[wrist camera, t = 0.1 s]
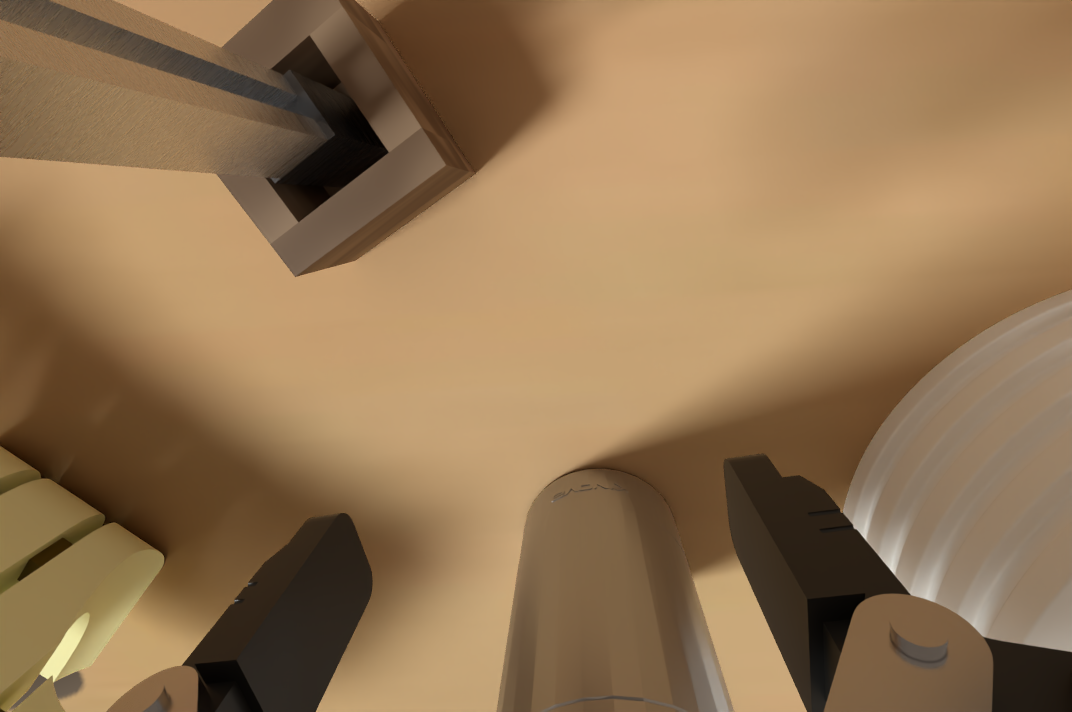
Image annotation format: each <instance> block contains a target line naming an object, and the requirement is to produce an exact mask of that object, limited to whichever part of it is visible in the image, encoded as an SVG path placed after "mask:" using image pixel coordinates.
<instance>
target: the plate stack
mask: <svg viewBox="0 0 1072 712" xmlns="http://www.w3.org/2000/svg"><path fill="white" fill-rule="evenodd" d="M843 513H844V515H845V516H846V517H847V518H848V519H849V521H850V522H851V523H852V524H853V527H854V529H857V530H858V531H859V533H860V534H861V535H862V536H863V537H864V539H865V540H866V541H867V542H868V544H869V545H870V546H871V547H872V548H873V550H874V551H875V552H876V553H877V554H878V556H879V557H880V558H881V559H882V560H883V562H884V563H885V564H886V565H887V567H888V568H889V569H890V570H891V571H892V573H893V574H894V575H895V576H896V577H897V579H898V580H899V581H900V582H901V583H902V585H903V586H904V587H905V588H906V590H907V591H908V592H909V593H910V594H911V595H912V596H916V597H920V598H923V599H926V600H929V601H932V602H935V603H937V604H939V605H941V606H944V607H946V608H948V609H949V610H951V611H953V612H955V613H956V614H958V615H959V616H961V617H962V618H963V619H965V620H966V621H968V622H969V623H970V624H971V625H972V626H973V627H974V628H975V629H976V630H977V631H978V632H979V633H980V634H981V635H982V636H983V637H986V638H990V639H995V640H1000V641H1005V642H1012V643H1018V644H1024V645H1031V646H1037V647H1043V648H1050V649H1056V650H1063V651H1069V652H1072V290H1069V291H1066V292H1063V293H1060V294H1058V295H1055V296H1052V297H1050V298H1048V299H1045V300H1043V301H1040V302H1038V303H1036V304H1034V305H1031V306H1029V307H1027V308H1025V309H1023V310H1021V311H1019V312H1017V313H1015V314H1013V315H1011V316H1009V317H1007V318H1005V319H1003V320H1002V321H1000V322H998V323H996V324H994V325H993V326H991V327H989V328H988V329H986V330H984V331H983V332H981V333H980V334H978V335H977V336H975V337H974V338H972V339H970V340H969V341H968V342H966V343H965V344H963V345H962V346H961V347H959V348H958V349H956V350H955V351H954V352H952V353H951V354H950V355H949V356H947V357H946V358H945V359H944V360H942V361H941V362H940V363H939V364H937V365H936V366H935V367H934V368H933V369H932V370H931V371H929V372H928V373H927V374H926V375H925V376H924V377H923V378H922V379H921V380H920V381H919V382H918V383H917V384H916V385H915V386H914V387H913V388H912V389H911V390H910V391H909V392H908V393H907V394H906V395H905V396H904V397H903V399H902V400H901V401H900V402H899V403H898V404H897V405H896V407H895V408H894V409H893V410H892V412H891V413H890V414H889V415H888V417H887V418H886V419H885V421H884V422H883V424H882V425H881V426H880V428H879V429H878V431H877V432H876V434H875V435H874V437H873V438H872V440H871V442H870V444H869V445H868V447H867V449H866V451H865V452H864V454H863V456H862V458H861V460H860V462H859V465H858V467H857V469H856V471H855V474H854V476H853V479H852V481H851V484H850V487H849V490H848V493H847V497H846V501H845V505H844V509H843Z"/></svg>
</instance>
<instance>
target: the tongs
mask: <svg viewBox="0 0 1072 712" xmlns="http://www.w3.org/2000/svg"><path fill="white" fill-rule="evenodd" d="M388 153H389V152H388V150H387V149H386V147H385V146H384V144H383V143H382V141H381V140H380V138H379V137H378V135H377V134H376V133H375V131H374V130H373V128H372V127H371V125H370V124H369V122H368V121H367V119H366V118H365V116H364V115H363V113H362V112H361V110H360V109H359V107H358V106H357V104H356V103H355V101H354V100H353V99H352V98H350V97H348V96H346V95H344V94H342V93H339V92H337V91H335V90H333V89H331V88H329V87H327V86H324V85H322V84H320V83H318V82H316V81H314V80H311V79H309V78H307V77H305V76H303V75H301V74H299V73H296V72H294V71H292V70H288V71H287V72H286V73H285V74H284V75H283V74H280V73H278V72H276V71H274V70H271V69H269V68H267V67H264V66H262V65H260V64H258V63H255V62H253V61H251V60H248V59H246V58H244V57H242V56H239V55H237V54H235V53H232V52H230V51H228V50H226V49H223V48H221V47H219V46H216V45H214V44H212V43H210V42H207V41H205V40H203V39H200V38H198V37H196V36H194V35H191V34H189V33H187V32H184V31H182V30H180V29H177V28H175V27H173V26H171V25H168V24H166V23H164V22H161V21H159V20H157V19H155V18H152V17H150V16H148V15H145V14H143V13H141V12H139V11H136V10H134V9H132V8H129V7H127V6H125V5H123V4H120V3H118V2H116V1H113V0H0V157H10V158H23V159H36V160H48V161H61V162H74V163H87V164H99V165H112V166H125V167H138V168H150V169H163V170H176V171H189V172H201V173H214V174H227V175H240V176H252V177H265V178H271V179H272V180H273V182H274V183H276V184H292V185H308V186H325V187H341V188H344V187H345V186H346V185H348V184H349V183H350V182H352V181H353V180H354V179H355V178H357V177H358V176H359V175H361V174H362V173H363V172H364V171H366V170H367V169H368V168H370V167H371V166H372V165H374V164H375V163H376V162H377V161H379V160H380V159H381V158H383V157H384V156H385V155H387V154H388Z"/></svg>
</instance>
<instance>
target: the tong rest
mask: <svg viewBox="0 0 1072 712" xmlns="http://www.w3.org/2000/svg"><path fill="white" fill-rule="evenodd" d="M222 48H223V49H226V50H228V51H230V52H232V53H235V54H237V55H239V56H242V57H244V58H246V59H248V60H251V61H253V62H255V63H258V64H260V65H262V66H264V67H267V68H269V69H271V70H274V71H276V72H278V73H280V74H283V75H284V74H285V73H286V72H287V71H288V70H292V71H294V72H296V73H299V74H301V75H303V76H305V77H307V78H309V79H311V80H314V81H316V82H318V83H320V84H322V85H324V86H327V87H329V88H331V89H333V90H335V91H337V92H339V93H342V94H344V95H346V96H348V97H350V98H352V99H353V100H354V101H355V103H356V104H357V106H358V107H359V109H360V110H361V112H362V113H363V115H364V116H365V118H366V119H367V121H368V122H369V124H370V125H371V127H372V128H373V130H374V131H375V133H376V134H377V135H378V137H379V138H380V140H381V141H382V143H383V144H384V146H385V147H386V149H387V150H388V152H389V153H388V154H387V155H385V156H384V157H383V158H381V159H380V160H379V161H377V162H376V163H375V164H374V165H372V166H371V167H370V168H368V169H367V170H366V171H364V172H363V173H362V174H361V175H359V176H358V177H357V178H355V179H354V180H353V181H352V182H350V183H349V184H348V185H346V186H345V187H344V188H341V187H325V186H308V185H292V184H276V183H274V182H273V180H272V179H271V178H265V177H252V176H240V175H227V174H217V175H218V177H219V178H220V179H221V181H222V182H223V183H224V184H225V186H226V187H227V188H228V190H229V191H230V192H231V194H232V195H233V196H234V198H235V199H236V200H237V201H238V203H239V204H240V205H241V207H242V208H243V209H244V211H245V212H246V213H247V215H248V216H249V217H250V218H251V220H252V221H253V222H254V224H255V225H256V226H257V228H258V229H259V230H260V232H261V233H262V234H263V235H264V237H265V238H266V239H267V241H268V242H269V243H270V245H271V246H272V247H273V248H274V250H275V251H276V252H277V254H278V255H279V256H280V258H281V259H282V260H283V262H284V263H285V264H286V265H287V267H288V268H289V269H290V271H291V272H292V273H293V275H294V276H295V277H296V276H300V275H304V274H307V273H311V272H315V271H318V270H322V269H326V268H330V267H333V266H337V265H341V264H344V263H348V262H352V261H355V260H357V259H358V258H359V257H361V256H362V255H363V254H365V253H366V252H368V251H369V250H370V249H372V248H373V247H374V246H376V245H377V244H379V243H380V242H381V241H383V240H384V239H386V238H387V237H388V236H390V235H391V234H392V233H394V232H395V231H397V230H398V229H399V228H401V227H402V226H404V225H405V224H406V223H408V222H409V221H410V220H412V219H413V218H415V217H416V216H417V215H419V214H420V213H421V212H423V211H424V210H426V209H427V208H428V207H430V206H431V205H433V204H434V203H435V202H437V201H438V200H439V199H441V198H442V197H444V196H445V195H446V194H448V193H449V192H451V191H452V190H453V189H455V188H456V187H457V186H459V185H460V184H462V183H463V182H464V181H466V180H467V179H469V178H470V177H471V176H473V175H474V174H475V172H474V171H473V169H472V167H471V166H470V164H469V163H468V161H467V160H466V158H465V157H464V155H463V153H462V152H461V150H460V149H459V147H458V146H457V144H456V143H455V141H454V139H453V138H452V136H451V135H450V133H449V132H448V130H447V129H446V127H445V125H444V124H443V122H442V121H441V119H440V118H439V116H438V115H437V113H436V111H435V110H434V108H433V107H432V105H431V104H430V102H429V101H428V99H427V97H426V96H425V94H424V93H423V91H422V90H421V88H420V87H419V85H418V83H417V82H416V80H415V79H414V77H413V76H412V74H411V72H410V71H409V69H408V68H407V66H406V65H405V63H404V62H403V60H402V58H401V57H400V55H399V54H398V52H397V51H396V49H395V48H394V46H393V44H392V43H391V41H390V40H389V38H388V37H387V35H386V34H385V32H384V30H383V29H382V27H381V26H380V24H379V23H378V21H377V20H376V19H375V18H373V17H372V16H371V15H370V14H369V13H368V12H367V11H366V10H365V9H364V8H363V7H361V6H360V5H359V4H358V3H357V2H356V1H355V0H273V1H272V2H271V3H269V4H268V5H267V6H266V7H265V8H264V9H263V10H262V11H261V12H260V13H259V14H257V15H256V16H255V17H254V18H253V19H252V20H251V21H250V22H249V23H248V24H247V25H246V26H244V27H243V28H242V29H241V30H240V31H239V32H238V33H237V34H236V35H235V36H234V37H232V38H231V39H230V40H229V41H228V42H227V43H226V44H225V45H224V46H223V47H222Z"/></svg>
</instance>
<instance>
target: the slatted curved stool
mask: <svg viewBox="0 0 1072 712" xmlns="http://www.w3.org/2000/svg"><path fill="white" fill-rule="evenodd" d="M104 521H105V515H104V514H102V513H101V512H99V511H98V510H96V509H95V508H93V507H92V506H90V505H89V504H87V503H85V502H84V501H82V500H81V499H79V498H78V497H76V496H75V495H73V494H72V493H70V492H69V491H67V490H66V489H64V488H63V487H61V486H60V485H58V484H57V483H55V482H54V481H52V480H50V479H41V474H40V472H39V471H37V470H36V469H34V468H33V467H31V466H30V465H28V464H27V463H25V462H24V461H22V460H21V459H19V458H18V457H16V456H15V455H13V454H12V453H10V452H9V451H7V450H6V449H4V448H3V447H1V446H0V712H6V711H7V710H8V709H9V708H10V707H12V705H13V704H14V703H16V702H17V701H18V700H19V699H20V698H21V697H22V696H23V695H24V694H25V693H26V692H27V691H28V690H29V688H30V687H31V686H32V684H33V682H34V681H35V680H36V678H37V677H38V675H39V674H40V675H42V676H43V677H45V678H47V680H46V681H45V682H44V683H43V684H42V685H41V686H40V687H39V688H37V689H36V690H35V691H34V692H33V693H32V694H31V695H30V696H29V697H28V698H26V700H24V701H23V702H22V703H21V704H20V705H19V706H18V707H16V708H15V709H14V710H13V711H12V712H65V710H64V709H63V708H62V706H61V704H60V702H59V700H58V698H57V696H56V693H55V689H54V685H53V682H55V681H57V680H59V679H60V678H62V677H65V676H67V675H69V674H71V673H73V672H76V671H79V670H82V669H85V668H88V667H90V666H91V665H92V664H93V662H94V661H95V660H96V658H97V657H98V655H99V654H100V653H101V651H102V650H103V648H104V647H105V646H106V644H107V643H108V642H109V640H110V639H111V637H112V636H113V635H114V633H115V632H116V630H117V629H118V628H119V626H120V625H121V624H122V622H123V621H124V619H125V618H126V617H127V615H128V614H129V612H130V611H131V610H132V608H133V607H134V606H135V604H136V603H137V601H138V600H139V599H140V597H141V596H142V594H143V593H144V592H145V590H146V589H147V588H148V586H149V585H150V583H151V582H152V581H153V579H154V578H155V577H156V575H157V574H158V572H159V571H160V570H161V568H162V566H163V564H164V556H163V555H162V553H161V552H159V551H158V550H156V549H155V548H153V547H152V546H150V545H149V544H147V543H146V542H144V541H143V540H141V539H140V538H138V537H137V536H135V535H134V534H132V533H131V532H129V531H128V530H126V529H125V528H123V527H122V526H120V525H119V524H117V523H115V522H114V523H109V524H107V525H104V526H102V525H103V523H104Z"/></svg>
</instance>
